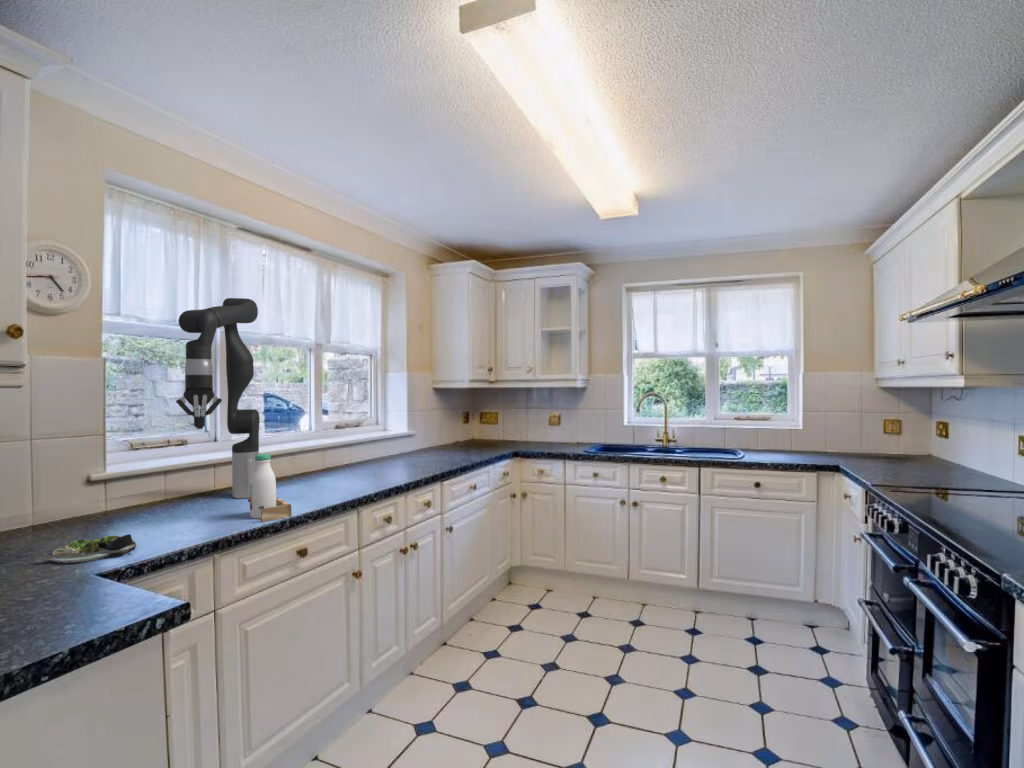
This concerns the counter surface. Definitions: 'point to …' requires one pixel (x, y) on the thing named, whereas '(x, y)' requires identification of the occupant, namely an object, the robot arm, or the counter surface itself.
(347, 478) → the counter surface
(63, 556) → the salad plate
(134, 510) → the counter surface
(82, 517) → the counter surface
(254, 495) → the milk bottle
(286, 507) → the light brown wooden box
